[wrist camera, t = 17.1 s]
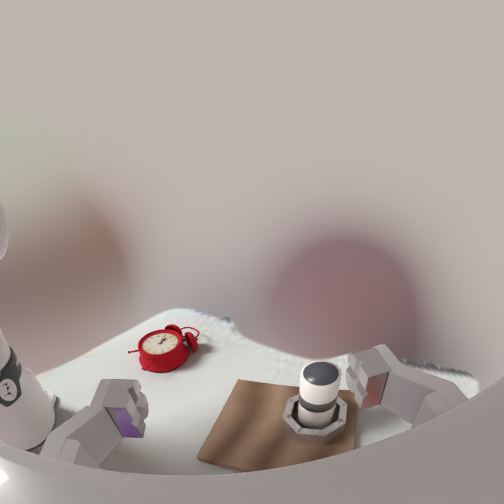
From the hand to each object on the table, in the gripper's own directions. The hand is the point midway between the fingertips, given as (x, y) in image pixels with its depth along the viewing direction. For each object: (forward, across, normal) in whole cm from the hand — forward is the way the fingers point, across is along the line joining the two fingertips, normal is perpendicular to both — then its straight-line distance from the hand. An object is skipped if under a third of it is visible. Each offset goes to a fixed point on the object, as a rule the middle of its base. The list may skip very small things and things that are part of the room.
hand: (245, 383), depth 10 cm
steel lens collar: (+17, -9, +27) cm, 33 cm away
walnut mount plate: (+17, -5, +28) cm, 33 cm away
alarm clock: (+40, +15, +28) cm, 51 cm away
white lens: (+17, -9, +27) cm, 33 cm away
